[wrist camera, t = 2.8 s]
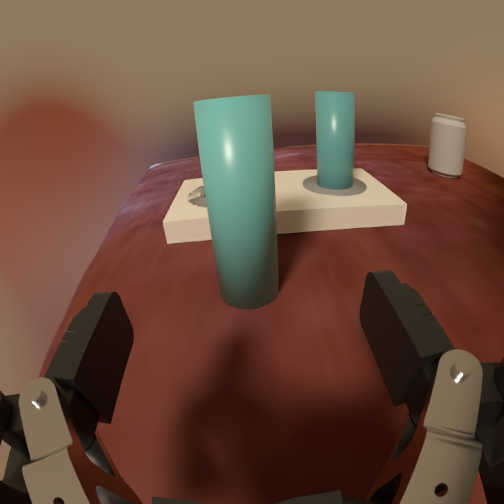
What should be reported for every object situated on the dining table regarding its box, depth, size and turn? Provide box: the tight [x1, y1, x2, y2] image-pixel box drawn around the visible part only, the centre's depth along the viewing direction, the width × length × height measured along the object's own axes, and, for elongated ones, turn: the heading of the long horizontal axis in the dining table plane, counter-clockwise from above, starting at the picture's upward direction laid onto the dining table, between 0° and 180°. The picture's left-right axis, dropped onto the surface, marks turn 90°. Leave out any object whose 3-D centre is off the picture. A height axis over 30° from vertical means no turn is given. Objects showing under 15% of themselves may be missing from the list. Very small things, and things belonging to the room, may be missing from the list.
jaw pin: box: [193, 95, 279, 309], centre depth 19 cm, size 4×4×14 cm
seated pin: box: [315, 91, 355, 190], centre depth 33 cm, size 4×4×14 cm
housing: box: [163, 169, 407, 244], centre depth 36 cm, size 14×26×3 cm, turn 93°
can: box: [428, 113, 466, 178], centre depth 45 cm, size 8×8×12 cm
